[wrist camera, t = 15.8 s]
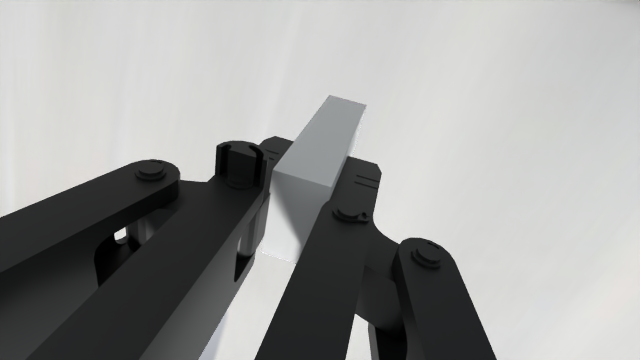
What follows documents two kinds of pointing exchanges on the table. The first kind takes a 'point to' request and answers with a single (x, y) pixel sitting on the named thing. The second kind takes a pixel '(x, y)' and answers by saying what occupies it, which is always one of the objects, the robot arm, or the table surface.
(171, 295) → the robot arm
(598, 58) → the table surface
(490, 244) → the table surface
